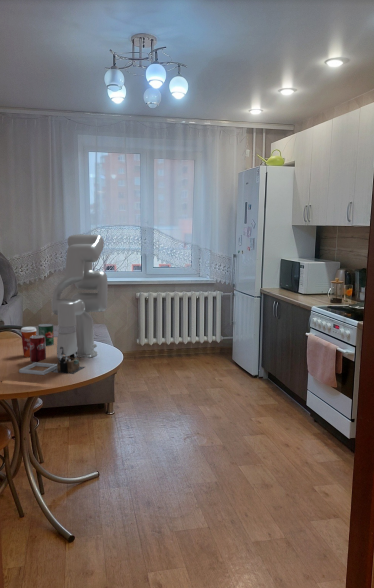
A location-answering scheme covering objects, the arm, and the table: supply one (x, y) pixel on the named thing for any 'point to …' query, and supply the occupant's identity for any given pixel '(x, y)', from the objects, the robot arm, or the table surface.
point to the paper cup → (27, 339)
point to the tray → (25, 370)
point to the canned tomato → (47, 333)
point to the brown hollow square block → (70, 364)
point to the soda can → (37, 348)
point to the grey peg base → (69, 372)
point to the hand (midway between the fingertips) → (68, 369)
